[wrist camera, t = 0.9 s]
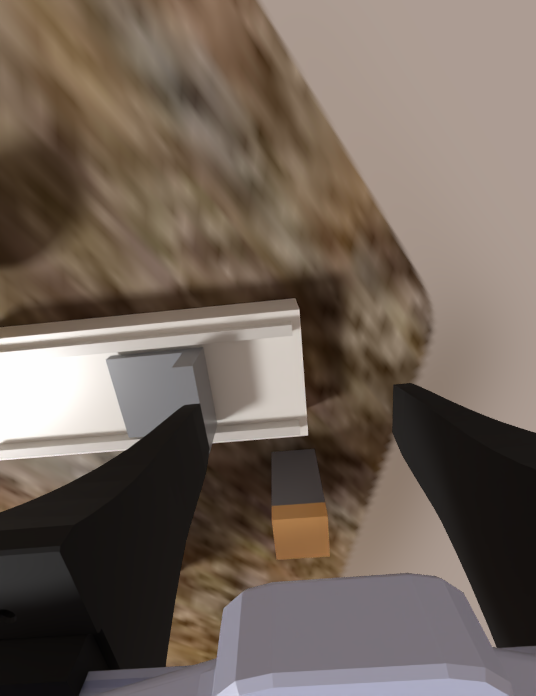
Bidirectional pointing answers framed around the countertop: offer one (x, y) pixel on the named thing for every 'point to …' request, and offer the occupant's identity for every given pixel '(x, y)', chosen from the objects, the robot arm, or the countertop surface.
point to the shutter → (161, 388)
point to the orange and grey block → (298, 506)
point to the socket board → (138, 337)
